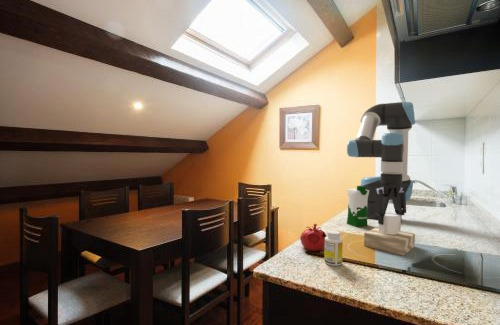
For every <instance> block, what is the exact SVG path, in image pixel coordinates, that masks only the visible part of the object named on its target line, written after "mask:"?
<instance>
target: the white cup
mask: <svg viewBox="0 0 500 325" xmlns="http://www.w3.org/2000/svg"><path fill="white" fill-rule="evenodd" d="M385 216H386V234H390V235H396V234H398V229H399V221H400V215H397V214H396V213H391V212H389V213H388V212H386V213H385Z"/></svg>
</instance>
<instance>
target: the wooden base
mask: <svg viewBox="0 0 500 325" xmlns="http://www.w3.org/2000/svg"><path fill="white" fill-rule="evenodd" d="M415 237H416V233H413V232H408V231H402V230H401V232H398V234H396V235H390V234H384V233H381V232H379V226H377V227H374V228H372V229H370V230H368V231H366V232H364V236H363V246H364V247H367V248H371V249H376V250H379V251H383V252H388V253H392V254H397V255H401V256H405V255H406V254H407V253H409V252H410V251H411V250H412V249H413V248H415V243H416V240H415V239H416V238H415Z"/></svg>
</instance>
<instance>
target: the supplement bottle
mask: <svg viewBox="0 0 500 325" xmlns="http://www.w3.org/2000/svg"><path fill="white" fill-rule="evenodd" d="M326 236H327V237H325V249H324V257H323V258H324V260H323V261H324V263H325V264H326V265H327V266H331V267H338V266H341V265H342V264H343V244H344V243H343V240H344V239H342V237H341V231H338V230H330V229H329V230H327V233H326Z"/></svg>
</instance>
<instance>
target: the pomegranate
mask: <svg viewBox="0 0 500 325" xmlns="http://www.w3.org/2000/svg"><path fill="white" fill-rule="evenodd" d="M317 225H318V224H317V223H313V225H312V226H311V227H310V226H306V227H305V229H304V230H303V231H302V232H301V235H300V237H299V241H300V242H301V245H302V247H304V248H305V249H306V250H308V251H311V252H319V251H323V250H325V237H327V233H326V232H325V231H323V230H322V229H321V227H317Z"/></svg>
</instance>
